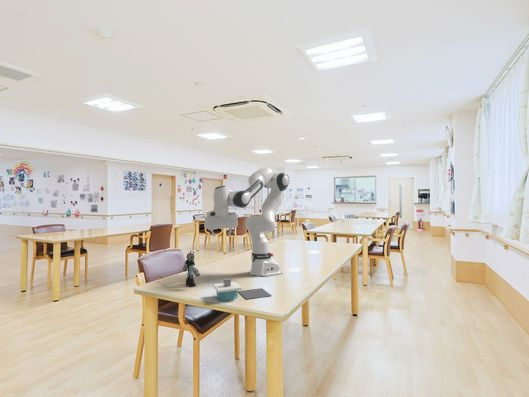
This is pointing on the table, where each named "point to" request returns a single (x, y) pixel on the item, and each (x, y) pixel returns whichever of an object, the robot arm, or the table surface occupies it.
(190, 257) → the robot
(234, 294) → the bowl
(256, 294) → the mat
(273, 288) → the table surface
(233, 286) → the cover sheet
